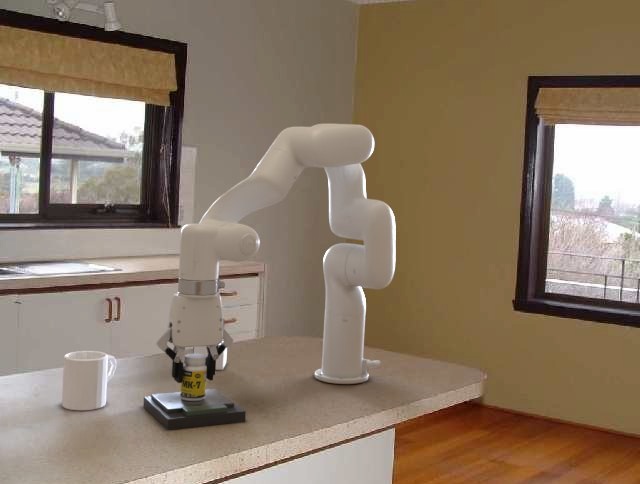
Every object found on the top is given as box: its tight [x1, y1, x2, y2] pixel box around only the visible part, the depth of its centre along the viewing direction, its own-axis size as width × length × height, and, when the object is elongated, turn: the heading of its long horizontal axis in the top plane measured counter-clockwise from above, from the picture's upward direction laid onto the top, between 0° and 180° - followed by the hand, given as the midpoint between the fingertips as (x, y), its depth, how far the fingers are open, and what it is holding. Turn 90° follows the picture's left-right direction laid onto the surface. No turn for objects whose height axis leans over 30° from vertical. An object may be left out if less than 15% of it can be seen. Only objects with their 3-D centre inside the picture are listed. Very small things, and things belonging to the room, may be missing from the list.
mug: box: [61, 350, 118, 411], centre depth 174 cm, size 8×12×10 cm, turn 151°
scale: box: [142, 395, 247, 431], centre depth 171 cm, size 15×16×3 cm
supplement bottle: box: [180, 353, 207, 401], centre depth 171 cm, size 5×5×8 cm
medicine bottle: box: [192, 317, 228, 371], centre depth 209 cm, size 7×7×12 cm
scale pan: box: [150, 388, 235, 413], centre depth 171 cm, size 13×11×1 cm
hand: (193, 379), depth 171 cm, fingers open, 5 cm apart
